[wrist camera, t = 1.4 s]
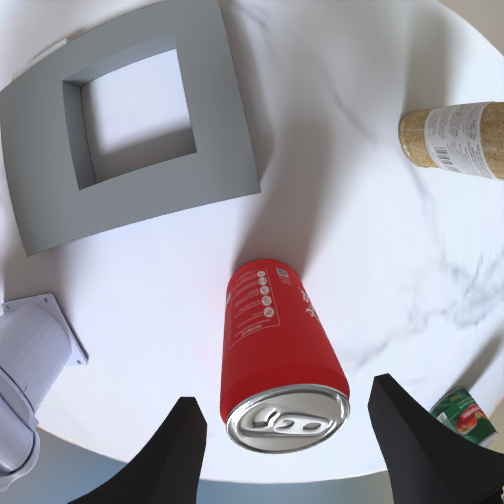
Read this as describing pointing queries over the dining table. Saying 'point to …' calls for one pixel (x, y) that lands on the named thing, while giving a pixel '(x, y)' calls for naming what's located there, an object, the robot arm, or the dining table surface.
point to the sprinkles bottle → (457, 138)
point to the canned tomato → (464, 417)
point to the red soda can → (278, 364)
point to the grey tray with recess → (75, 141)
